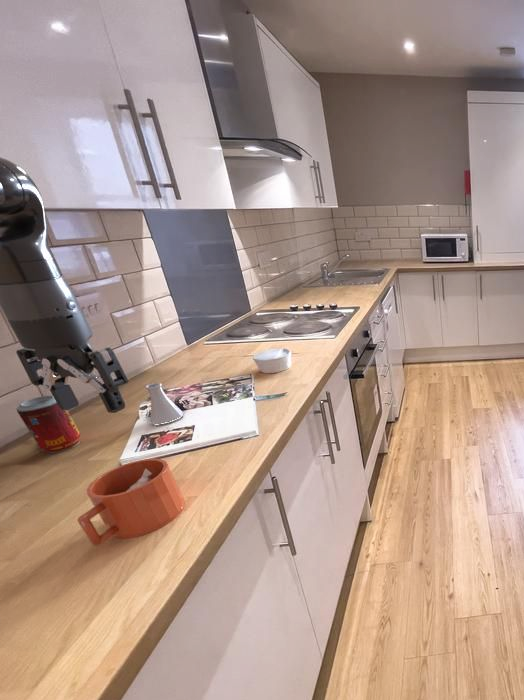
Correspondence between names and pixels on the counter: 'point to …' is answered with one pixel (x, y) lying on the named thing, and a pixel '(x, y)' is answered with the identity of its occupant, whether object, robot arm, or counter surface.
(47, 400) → the soda can
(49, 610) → the counter surface
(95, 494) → the mug
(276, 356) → the ramekin
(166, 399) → the flask
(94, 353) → the robot arm
